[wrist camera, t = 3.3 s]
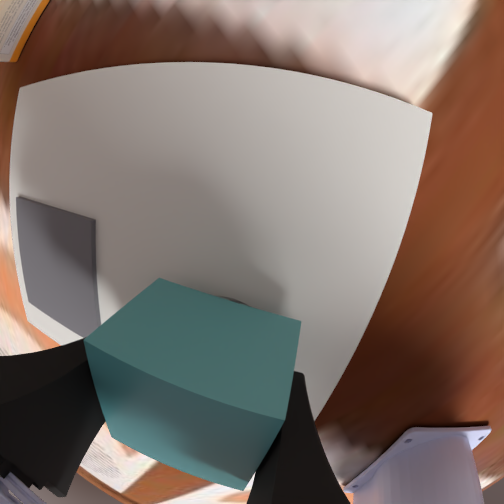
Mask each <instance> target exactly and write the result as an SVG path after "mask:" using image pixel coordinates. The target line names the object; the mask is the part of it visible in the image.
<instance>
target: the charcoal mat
mask: <svg viewBox="0 0 504 504" xmlns="http://www.w3.org/2000/svg"><path fill="white" fill-rule="evenodd" d="M16 215H17V230H18V241H19V250H20V257H21V264H22V271H23V277H24V282H25V288H26V292H27V297H28V302H29V303H31V304H32V305H33V306H35V307H36V308H38V309H39V310H40V311H42V312H43V313H45V314H46V315H48V316H49V317H51V318H52V319H54V320H55V321H57V322H58V323H60V324H61V325H63V326H65V327H66V328H68V329H69V330H71V331H73V332H74V333H76V334H78V335H79V336H81V337H83V338H85V337H87V336H89V335H90V334H91V333H92V332H93V331H94V330H96V329H97V328H98V327H99V326H100V325H101V318H100V309H99V299H98V287H97V270H96V219H93V218H89V217H86V216H83V215H79V214H76V213H73V212H69V211H66V210H63V209H59V208H56V207H53V206H50V205H46V204H43V203H40V202H37V201H33V200H30V199H27V198H24V197H20V196H19V197H16Z"/></svg>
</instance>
